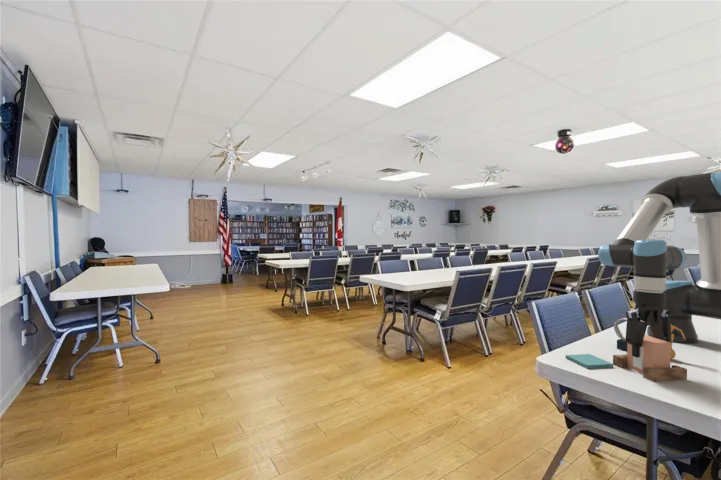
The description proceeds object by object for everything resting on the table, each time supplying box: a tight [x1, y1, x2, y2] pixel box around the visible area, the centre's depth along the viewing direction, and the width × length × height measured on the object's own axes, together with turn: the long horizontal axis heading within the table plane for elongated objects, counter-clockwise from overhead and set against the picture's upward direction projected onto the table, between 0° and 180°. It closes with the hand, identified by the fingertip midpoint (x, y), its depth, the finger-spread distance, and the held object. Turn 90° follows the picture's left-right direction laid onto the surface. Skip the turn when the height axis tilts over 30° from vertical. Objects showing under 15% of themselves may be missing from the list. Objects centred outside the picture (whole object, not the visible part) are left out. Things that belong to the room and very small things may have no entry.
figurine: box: [652, 324, 685, 360], centre depth 114 cm, size 8×6×12 cm
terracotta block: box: [626, 334, 672, 375], centre depth 102 cm, size 6×8×10 cm
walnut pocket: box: [612, 353, 688, 383], centre depth 102 cm, size 11×13×3 cm
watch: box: [613, 317, 627, 352], centre depth 123 cm, size 6×8×11 cm
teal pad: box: [565, 353, 614, 369], centre depth 110 cm, size 9×9×1 cm
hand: (647, 366), depth 102 cm, fingers closed on terracotta block, 6 cm apart
